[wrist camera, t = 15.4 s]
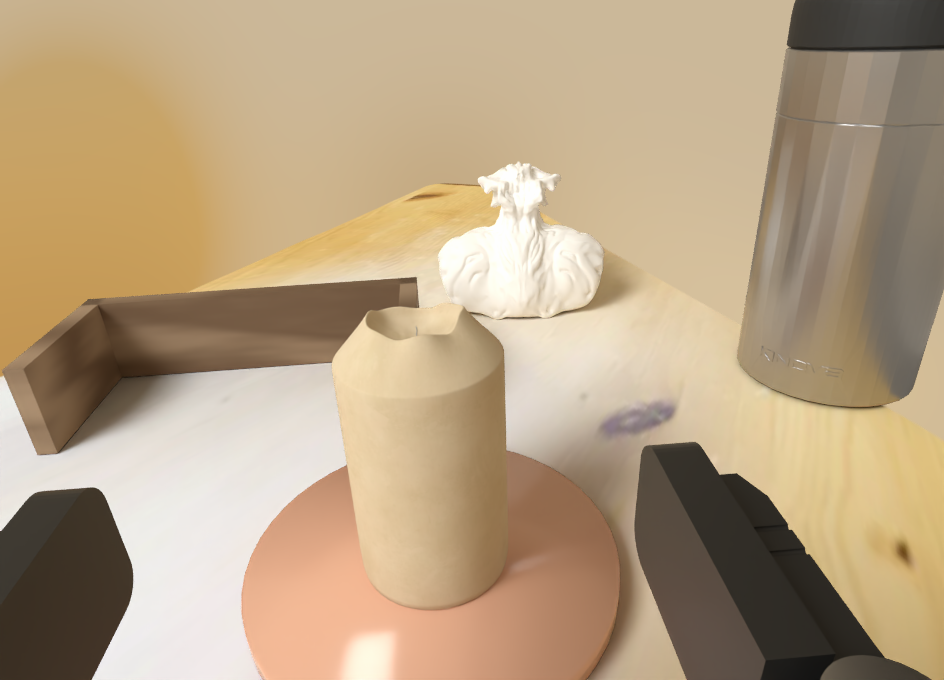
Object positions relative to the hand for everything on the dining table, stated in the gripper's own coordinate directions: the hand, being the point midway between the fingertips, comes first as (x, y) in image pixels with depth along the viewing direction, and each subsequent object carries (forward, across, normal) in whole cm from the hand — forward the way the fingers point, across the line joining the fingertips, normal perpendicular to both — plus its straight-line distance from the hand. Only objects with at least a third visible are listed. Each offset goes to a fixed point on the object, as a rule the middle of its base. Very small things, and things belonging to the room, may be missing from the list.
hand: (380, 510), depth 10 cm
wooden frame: (+25, +10, +13) cm, 30 cm away
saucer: (+10, 0, +12) cm, 16 cm away
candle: (+10, 0, +12) cm, 16 cm away
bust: (+36, -7, +13) cm, 39 cm away
